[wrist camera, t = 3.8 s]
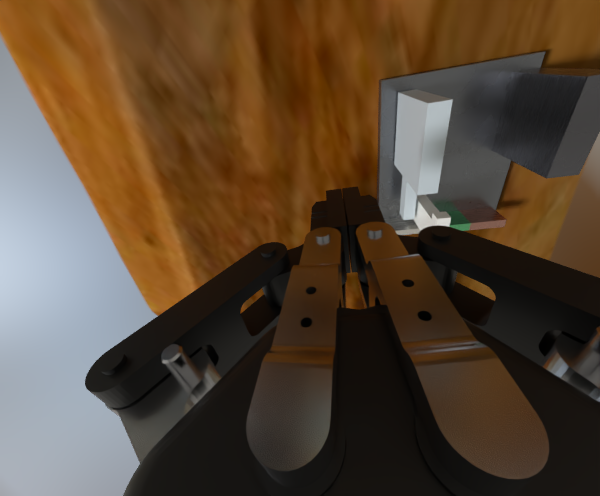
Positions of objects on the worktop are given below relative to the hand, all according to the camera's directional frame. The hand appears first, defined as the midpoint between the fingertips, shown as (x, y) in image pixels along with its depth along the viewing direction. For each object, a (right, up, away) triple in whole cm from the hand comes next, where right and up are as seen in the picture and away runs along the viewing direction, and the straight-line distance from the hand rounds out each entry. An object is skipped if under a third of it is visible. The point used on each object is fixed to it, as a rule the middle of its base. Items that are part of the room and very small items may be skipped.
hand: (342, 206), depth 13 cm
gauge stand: (+12, +7, +12) cm, 18 cm away
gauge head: (+7, +7, +11) cm, 15 cm away
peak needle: (+10, +3, +14) cm, 17 cm away
